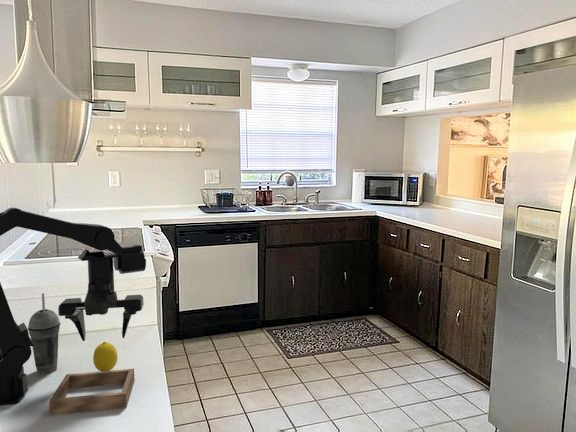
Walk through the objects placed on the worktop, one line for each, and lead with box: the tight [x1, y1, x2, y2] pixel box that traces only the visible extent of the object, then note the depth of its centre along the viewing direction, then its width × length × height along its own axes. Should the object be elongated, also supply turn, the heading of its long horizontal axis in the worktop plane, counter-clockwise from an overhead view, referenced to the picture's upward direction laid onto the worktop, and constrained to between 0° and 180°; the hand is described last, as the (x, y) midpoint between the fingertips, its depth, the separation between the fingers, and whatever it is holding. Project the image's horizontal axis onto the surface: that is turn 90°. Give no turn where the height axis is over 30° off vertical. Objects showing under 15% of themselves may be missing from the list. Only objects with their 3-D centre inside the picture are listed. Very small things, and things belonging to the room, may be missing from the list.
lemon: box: [92, 341, 118, 372], centre depth 114 cm, size 6×6×8 cm
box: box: [48, 368, 136, 416], centre depth 102 cm, size 15×13×3 cm
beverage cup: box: [27, 293, 61, 375], centre depth 116 cm, size 7×7×20 cm
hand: (103, 339), depth 114 cm, fingers open, 9 cm apart
